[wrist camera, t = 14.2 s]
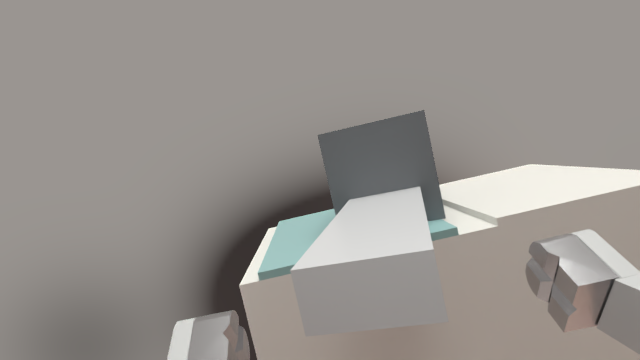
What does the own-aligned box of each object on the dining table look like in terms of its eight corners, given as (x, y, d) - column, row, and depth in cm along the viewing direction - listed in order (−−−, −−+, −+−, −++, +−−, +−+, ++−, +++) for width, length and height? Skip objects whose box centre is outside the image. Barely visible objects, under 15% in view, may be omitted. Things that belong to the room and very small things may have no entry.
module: (488, 317, 10) (443, 86, 9) (273, 339, 11) (225, 140, 11) (433, 190, 31) (418, 116, 30) (360, 204, 32) (345, 133, 32)
